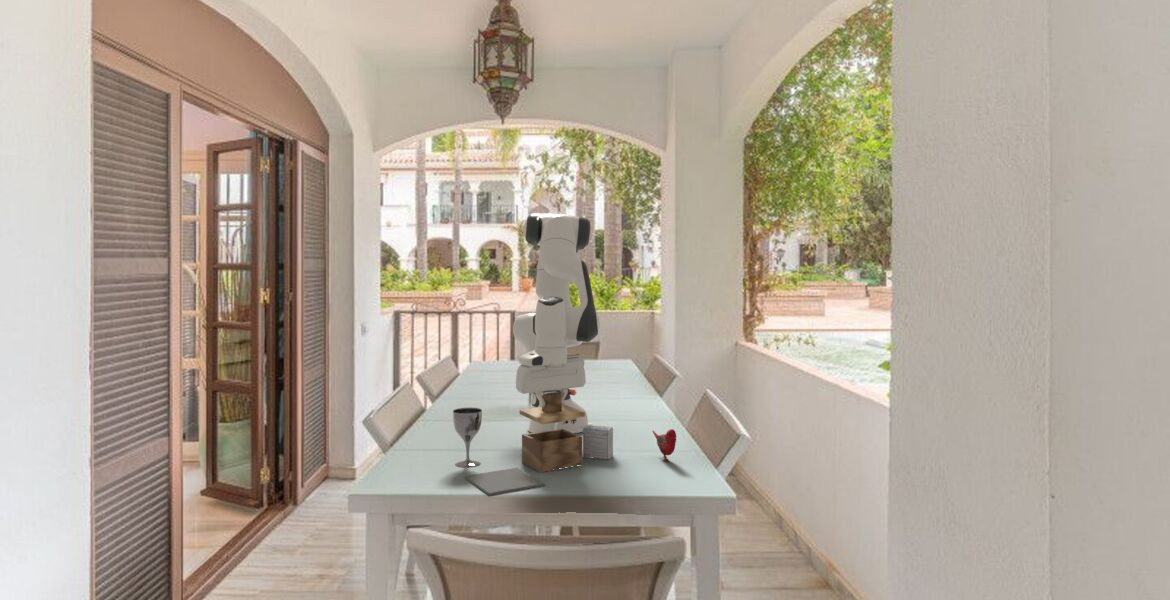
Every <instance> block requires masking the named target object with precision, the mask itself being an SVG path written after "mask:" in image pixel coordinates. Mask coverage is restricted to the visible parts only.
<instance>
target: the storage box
mask: <svg viewBox="0 0 1170 600" xmlns="http://www.w3.org/2000/svg"><path fill="white" fill-rule="evenodd" d="M521 463H522V464H523V463H524V465H525V464H526V465H525V466H527V465H528V466H527V467H529V466H530V467H531V469H532V468H533V470H534V469H535V470H534V471H536V470H537V471H536V472H538V471H539V472H542V473H545V472H544V471H548V472H550V471H549V470H553V469H559V468H565V467H571V466H577V465H582V466H583V436H582V435H581V436H580V435H578V434H577V433H571V432H569V431H566V430H564V429H559V430H552V431H544V432H537V433H531V432H529V433H523V434H521ZM530 467H529V468H530ZM539 472H538V473H539Z"/></svg>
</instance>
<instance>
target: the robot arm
mask: <svg viewBox="0 0 1170 600" xmlns="http://www.w3.org/2000/svg"><path fill="white" fill-rule="evenodd" d="M522 228H523V229H522V230H523V231H522V232H523V237H524V240H525V241H526V243H527V244H529V245H531V246H535V247H537V246H539V256H538V261H537V270H536V279H535V293H536V296H537V297H538V298H539V299H538V300H537V302H536V306H535V312H529V313H524V314H519V315H518V316H517V317H516V318H515V320H514V322H513V324H512V334H513V337H514V338H515V340H516V341H517V342H518V343H519V344H520V345H521V346H522V347H523V349H524V350H525V352H526V353H525V354H522V355H520V356H519V357H518V363H519V364H520V365H519V366H518V367H517V370H516V375H515V376H516V377H515V389H516V391H517V392H518V393H520V394H522V395H524V394H530V401H531V402H530V403H531V408H538V407H541V408H543V407H547V401H545V400H543V398H542V395H543V393H544V392H552V391H556V392H558V393H561V394H562V405H564V404H565V405H567V406H570V407H572V408H575V409H578V410H580V411H583V412H585V417H578V418H576V420H570V421H563V422H556V423H549V424H540V423H538V422H536V421H533V420H531V419H530V420H529V424H528V427H527V432H529V433H537V432H544V431H552V430H559V429H564V430H566V431H569V432H571V433H574V434H578V433H583V428H584V427H586V426H588V425H593V426H595V424H594V423H592V422H590V421H589V419H588V414H587V411H586V409H585V408H584V407H583V406H582V405H580V404H579V403H578V402H577V401H575V400H573V398H571V396H576V395H577V390H576V389H575V388H584V386H585V385H586V381H587V379H586V372H585V370H586V369H585V358H584V356H583V355H580V354H579V353H574V354H568V348H571V347H576V346H580V345H581V344H582V343H583V342H584V343H590V342H591V341H592V340H594V339H595V338H596V337H597V336H598V335H599V332H600V331H599V330H600V318H599V315H598V312H597V309H596V306H595V300H594V295H593V289H592V284H591V279H590V273H589V270H588V266H587V264H586V262H585V261H584V260H582V259H580V257H579V256H578V253H579V251H580V250H581V251H582V250H584V249H585V248H586V247H588V245H589V243H590V241H591V239H592V236H593V229H592V225H591V221H590V220H589V219H588V218H586V217H583V216H580V215H579V216H575V215H570V214H565V213H559V214H558V213H540V212H539V213H537V212H535V213H530V214H529V215H528V216H526V219H525V221H524V223H523V227H522ZM570 283H571V284H573V285H575V286H576V288H577V289H578V297H579V303H580V305H579V306H573V304H572V301H571V298H570Z"/></svg>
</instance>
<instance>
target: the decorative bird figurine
mask: <svg viewBox="0 0 1170 600" xmlns="http://www.w3.org/2000/svg"><path fill="white" fill-rule="evenodd" d="M652 433H653V435H654V437H655V439H656V444H657V447H658V449H659V451H660V453H661V454H662V455H663V457H662V458H663V459H664V461H666V462H667V461H668V463H670V462H671V461H670V460H669V459H668V457H667V456H671V455H672V454H673V453H674V451H675V449H676V444H677V443H676V442H677V432H676V431H675V429H674V428H672V429H668V430H667V431H666V432H665V433H664V434H660V435H659V434H657V432H656V431H655V430H652Z"/></svg>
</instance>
